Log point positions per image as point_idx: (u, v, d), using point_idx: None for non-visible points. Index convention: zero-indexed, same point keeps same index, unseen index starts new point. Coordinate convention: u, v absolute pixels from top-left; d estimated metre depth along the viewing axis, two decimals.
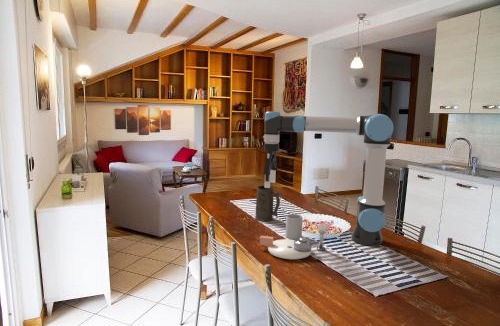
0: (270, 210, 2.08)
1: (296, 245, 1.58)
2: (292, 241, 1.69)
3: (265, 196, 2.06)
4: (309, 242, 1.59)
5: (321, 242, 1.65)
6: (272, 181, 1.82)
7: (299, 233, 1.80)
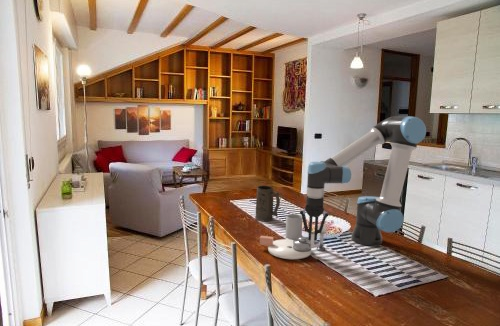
0: (270, 210, 2.08)
1: (295, 245, 1.58)
2: (292, 241, 1.69)
3: (265, 196, 2.06)
4: (309, 242, 1.59)
5: (321, 242, 1.65)
6: None
7: (299, 233, 1.80)
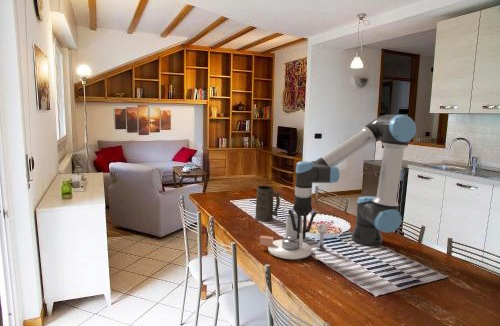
0: (270, 210, 2.08)
1: (284, 244, 1.59)
2: None
3: (265, 196, 2.06)
4: (297, 240, 1.61)
5: (321, 242, 1.65)
6: None
7: None
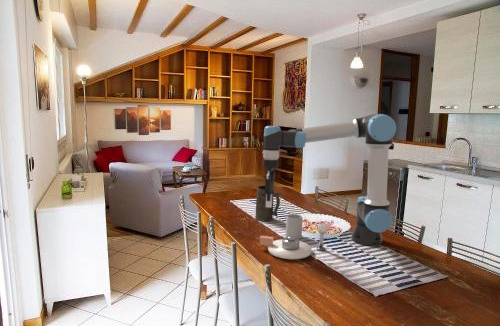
0: (270, 210, 2.08)
1: (284, 244, 1.59)
2: None
3: (265, 196, 2.06)
4: (297, 240, 1.61)
5: (321, 242, 1.65)
6: None
7: (299, 233, 1.80)
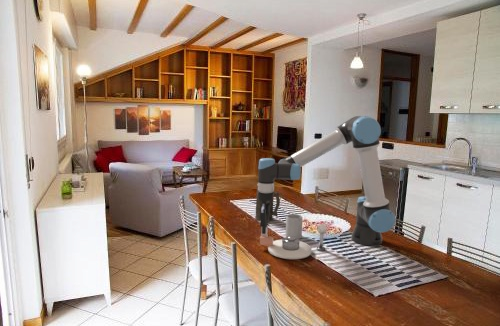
0: (270, 210, 2.08)
1: (284, 244, 1.59)
2: None
3: None
4: (297, 240, 1.61)
5: (321, 242, 1.65)
6: None
7: (299, 233, 1.80)
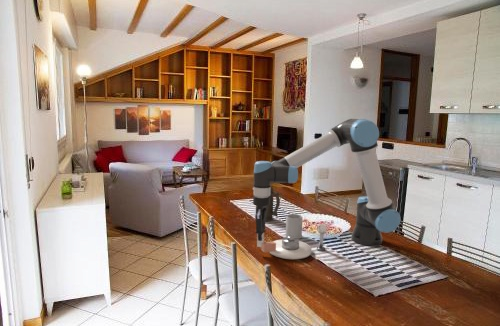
0: (270, 210, 2.08)
1: (289, 245, 1.58)
2: (281, 241, 1.69)
3: None
4: (296, 239, 1.63)
5: (321, 242, 1.65)
6: None
7: (299, 233, 1.80)
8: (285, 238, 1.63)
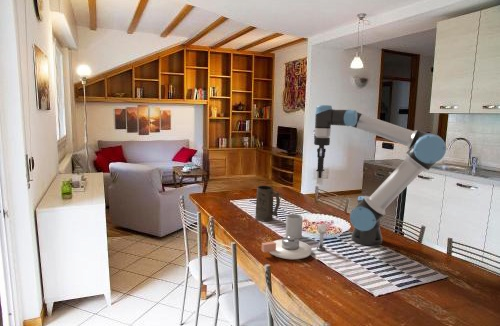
0: (270, 210, 2.08)
1: (289, 245, 1.58)
2: (281, 241, 1.69)
3: (265, 196, 2.06)
4: (296, 239, 1.63)
5: (321, 242, 1.65)
6: None
7: (299, 233, 1.80)
8: (285, 238, 1.63)
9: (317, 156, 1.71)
